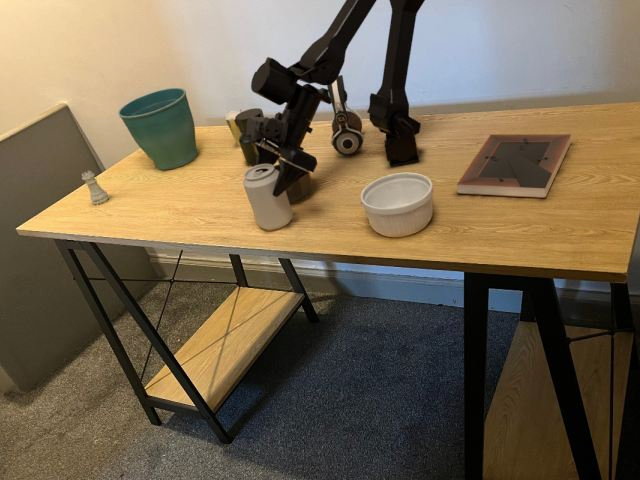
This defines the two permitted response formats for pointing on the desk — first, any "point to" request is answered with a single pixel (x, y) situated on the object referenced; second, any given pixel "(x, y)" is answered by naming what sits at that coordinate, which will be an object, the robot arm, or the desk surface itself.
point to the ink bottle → (245, 138)
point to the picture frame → (515, 165)
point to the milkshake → (233, 125)
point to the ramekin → (398, 203)
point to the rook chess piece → (95, 188)
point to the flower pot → (162, 127)
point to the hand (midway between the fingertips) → (265, 189)
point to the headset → (344, 121)
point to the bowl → (299, 188)
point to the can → (266, 197)
